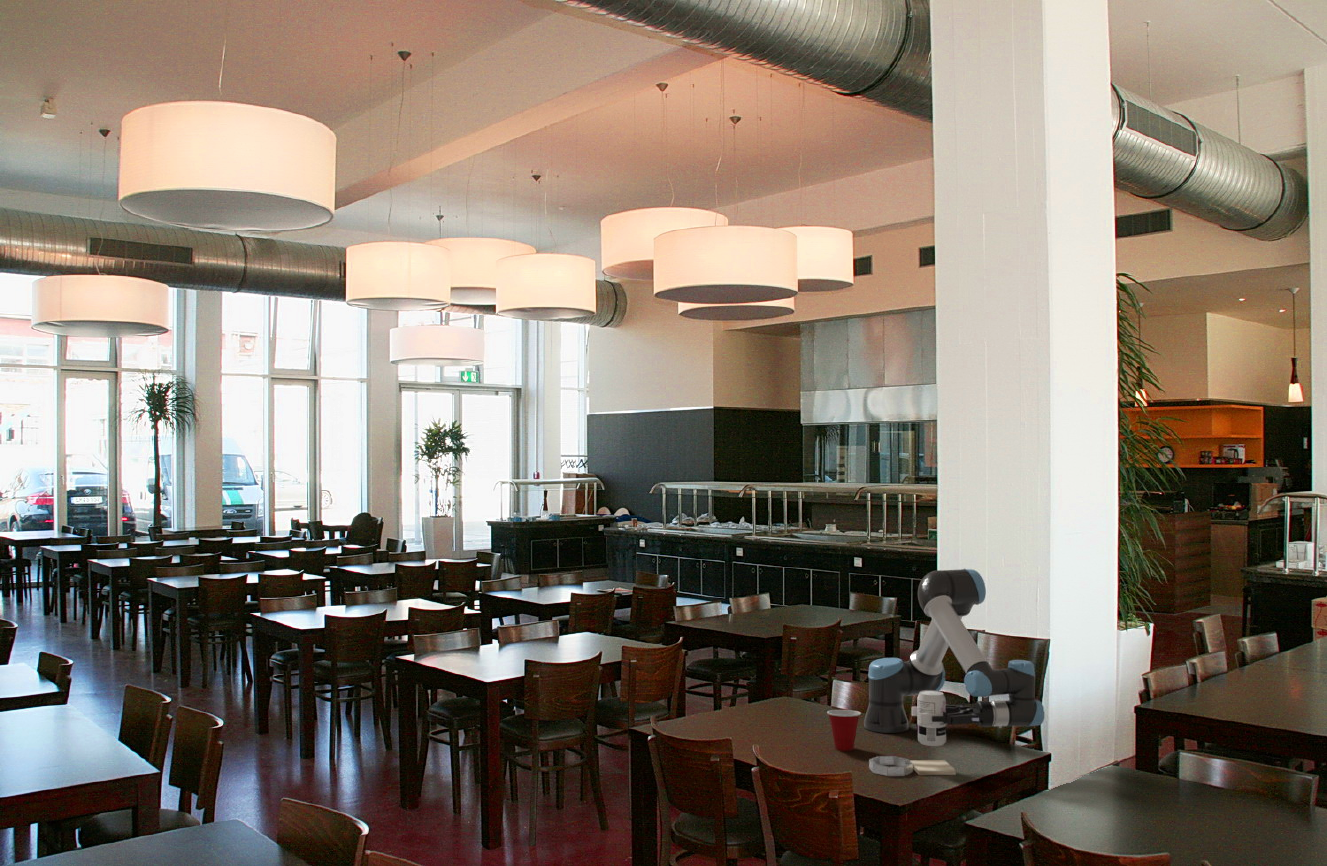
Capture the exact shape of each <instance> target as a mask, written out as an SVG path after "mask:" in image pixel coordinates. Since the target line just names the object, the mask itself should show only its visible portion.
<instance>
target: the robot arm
mask: <svg viewBox="0 0 1327 866" xmlns="http://www.w3.org/2000/svg"><path fill="white" fill-rule="evenodd" d="M986 593H987V590H986V583H985V580H984V578H983V577H982V575H981V573H979V572H978V571H977V570H975V569H972V568H971V569H968V568H967V569H966V568H962V569H945V570H941V569H940V570H932V571H930V572H928V573H927V574H926V575H924V576H923V578H921V580H920V582H919V584H918V588H917V599H918V603H919V606H920V608H921V609H922V611H923V613H924V614H925V616H926V617H929V618H931V621H930V623H929V624H928V628H927V630H926V632H925V634H924V637H923V639H922V641H921V643H920V646H919V648H918V649H917V650H914V651H913V652H912V653H911V654H910V656H909V659H908V660H907V661H903V659H901V658H898V657H883V658H878V659H875V660H873V661H871V662H870V664H869V666H868V674H867V675H868V707H867V709H866V713H865V717H864V719H863V720H864V721H863V725H864V726H863V728H865V729H866V730H868V731H871V732H876V733H882V734H883V733H884V734H896V733H904V732H907V731H908V730H909V719H908V718H907V714H906V711H905V707H904V697H907V696H908V697H909V696H910V697H912V696H918V695H919V692H920V691H925V690H931V691H939V692H940V691H941V690H942V689H943V687H944V685H945V682H946V677H945V676H946V670H945V668H944V663H943V662H942V661H943V659H944V657H945V655H946V653H947V650H948V648H949V649H950V650H951V652H952V654H953V655H954V657H955V659H956V660H957V662H958V663H959V664H960V666H961V668H962V670H963V672H965V676H964V678H963V683H964V686H965V690H966V692H967V693H968V694H969V695H970V696H972V697H976V698H977V697H983V698H987V697H990V696H991V697H993V696H1000V695H1001V696H1003V695H1008V698H1009V700H990V701H988V700H977V701H976V702H975V704H974V707H971V705H970V706H969V705H965V704H946V712H943V716H942V713H920V723H942V722H943V723H945V724H946V726H953V725H968V724H969V725H971V724H972V725H973V724H975V725H977V726H978V727H980V728H990V727H998V729H1003V727H1035V726H1040V725H1042V724H1043V723H1044V721H1045V711H1044V710H1045V709H1044V705H1043V703H1042V702H1041V701H1040V700H1038V699H1036V696H1035V694H1036V693H1035V691H1036V690H1035V689H1036V687H1035V686H1036V673H1035V672H1036V671H1035V665H1034V663H1033V662H1032V661H1031V660H1025V659H1012V660H1009V661H1008V664H1007V667H1006V668H994V669H993V667H992V666H991V665H990V663H989V662H988V660H987V659H986V657H985V656H984V654H983V652H982V651H981V650H980V647H979V646H978V645H977V642H976V641H975V640H974V638H973V637H972V635H971V634H970V632H969V630H968V629H967V627H966V626H965V624H964V622H963V621H962V619H963V617H966V616H968V615H969V614H970V612H971V610H972V608H973V606H975V605H976V606H977V605H980V604H982V603H983V602H985V599H986V595H987V594H986ZM911 716H912V717H918V709H917V706H911Z"/></svg>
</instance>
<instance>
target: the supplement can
mask: <svg viewBox="0 0 1327 866" xmlns="http://www.w3.org/2000/svg"><path fill="white" fill-rule="evenodd" d="M916 699H917V706H916V707H917V709H918V716H917V741H918V743H920V744H921V745H924V746H927V747H941V746H944V745H945V743H947V723H946V724H945V723H943V722H942V723H920V713H942V716H943V712H946V705H947V701H946V700H947V699H946V697H945V695H944V693H943V692H942V691H940V690H939V691H931V690H925V691H920V692H919V695H917V698H916Z"/></svg>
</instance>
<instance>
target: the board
mask: <svg viewBox="0 0 1327 866" xmlns="http://www.w3.org/2000/svg"><path fill="white" fill-rule="evenodd" d="M909 760H910V759H909ZM910 761H911V762H912V763H913V771H915V773H916V774H917V775H919V776H956V775H957V770H956V769H955V768H954V767H953V766H951V764H949V763H948V762H947V761H946V760H945V759H921V760H920V759H919V760H917V759H913V760H910Z"/></svg>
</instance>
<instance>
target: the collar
mask: <svg viewBox="0 0 1327 866" xmlns="http://www.w3.org/2000/svg"><path fill="white" fill-rule="evenodd" d="M868 768H869V770H870V771H871V772H872V773H873V774H875V775H876V774H877V775H881V776H885V777H906V776H908V775H910V774H912V773H913V772H914V769H913V763H912V762H911V761H910V759H909V758H906V757H900V756H896V755H877V756H875V757H871V758H869V759H868ZM905 775H906V776H905Z"/></svg>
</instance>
